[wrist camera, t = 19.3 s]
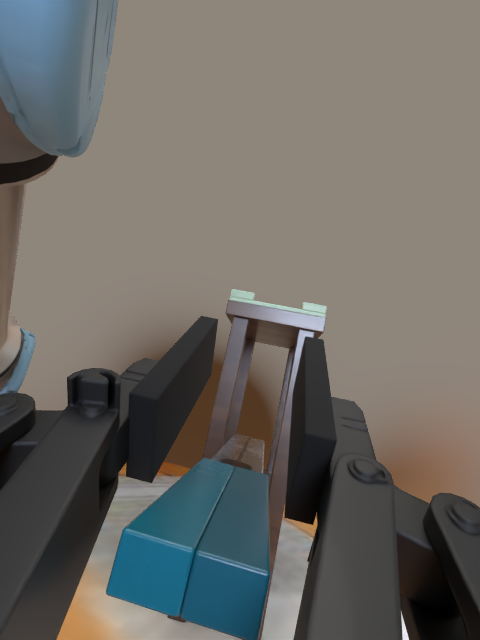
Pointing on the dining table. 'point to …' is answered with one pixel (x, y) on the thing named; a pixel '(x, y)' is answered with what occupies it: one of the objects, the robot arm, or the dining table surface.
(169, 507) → the blue grooved block
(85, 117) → the robot arm
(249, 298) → the tray
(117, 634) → the dining table surface
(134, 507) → the dining table surface
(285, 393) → the stand
